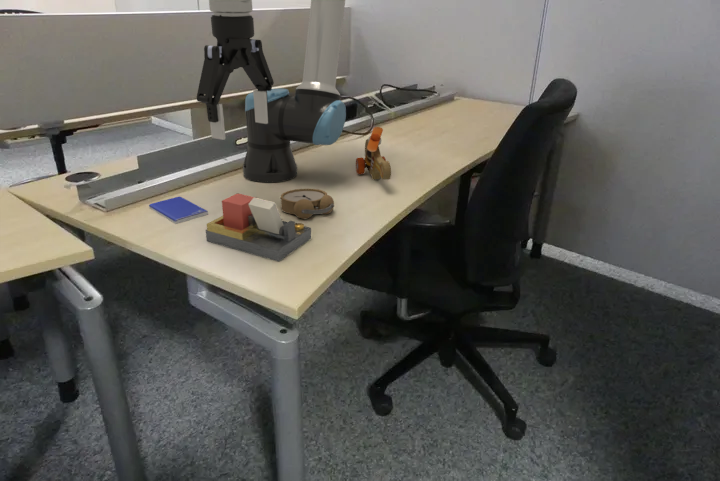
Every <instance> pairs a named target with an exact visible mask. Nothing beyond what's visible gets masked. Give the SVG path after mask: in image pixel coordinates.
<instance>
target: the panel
mask: <svg viewBox="0 0 720 481" xmlns="http://www.w3.org/2000/svg"><path fill="white" fill-rule="evenodd" d="M281 219H282V222H283V225H284V236H280V235H276V234H272V233H269V232H265V231H261V230H258V229H257V223H256V221H255V219H254V216H253V214H251V215H249V216H248V220H249V226H248V227H247V228H245V229H243V230H237V229H234V228H230V227H226V226H224V220H223V215H221V216H219V217H217V218H216V219H214V220H212V221H209V222H208V223H206V229H205V238H206V242H209V243H213V244H216V245H220V246H223V247H227V248H230V249H234V250H237V251H240V252H243V253H247V254H250V255H255V256H258V257H261V258H264V259H268V260H272V261H276V262H280V261H282V260H284V258H286V257H288V256H289V255H291V254H292V253H293V252H294V251H296V250H298V249H299V248H300V247H301V246H303V245H305V244H306V243H307V242H309V241H310V240H312V227H309V226H306V225H304V223H302V222H298V223H297V222H296V221H293V220H289V221H285V220H283V218H282V217H281ZM295 222H296V223H295Z"/></svg>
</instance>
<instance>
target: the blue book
mask: <svg viewBox="0 0 720 481" xmlns="http://www.w3.org/2000/svg"><path fill="white" fill-rule="evenodd" d="M148 206H149V207H148V208H149V209H150V210H152V211H153V212H155V213H156V214H158V215H160V216H161V217H163V218H165V219H166V220H168V221H170V222H172V223H173V224H175V225H176V224H181V223H183V222H188V221H190V220H195V219H197V218H200V217H204V216H207V215H209V211H208V210H206V209H204V208H203V207H202V206H199V205H198V204H195V203H193V202H191V201H190V200H188V199H186V198H183V197H182V196H176V197H172V198H168V199H164V200H160V201H156V202H153V203H150V204H149V205H148Z"/></svg>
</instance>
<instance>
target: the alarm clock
mask: <svg viewBox="0 0 720 481" xmlns="http://www.w3.org/2000/svg"><path fill="white" fill-rule="evenodd" d="M279 199H280V201H281V202H280V204H281V205H280V206H281V210H282V212H284V213H285V214H291V215H295V216H296V217H297V218H299V219H303V220H307V219H309V218H311V217H312V216H313V215H319V214H320V215H329V214H330V213H332V212H333V210H334V207H335V201H334V198H333V197H332V196H331V195H329V194H328V192H326V191H325V190H322V189H318V188H296V189H290V190H287V191H285V192H283V193H281V194H280V197H279Z"/></svg>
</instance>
